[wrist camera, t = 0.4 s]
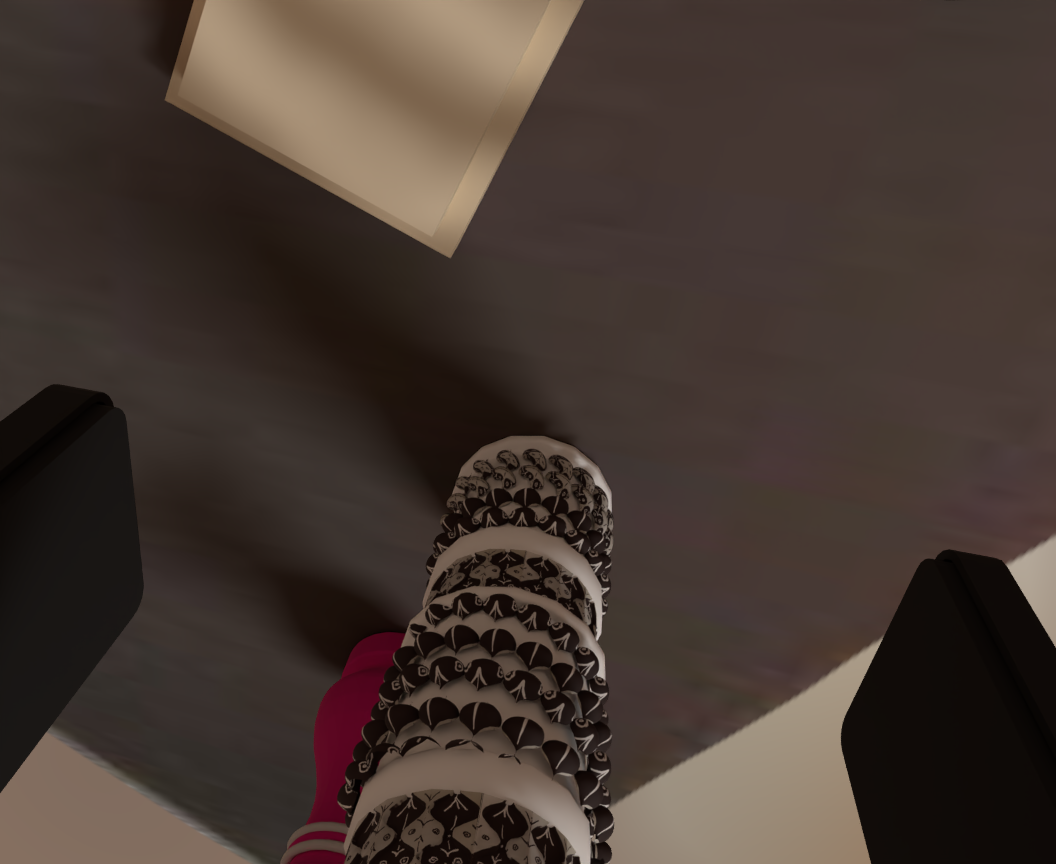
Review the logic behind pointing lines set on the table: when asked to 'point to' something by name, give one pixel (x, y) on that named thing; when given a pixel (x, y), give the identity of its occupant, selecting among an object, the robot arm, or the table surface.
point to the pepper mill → (341, 748)
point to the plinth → (375, 94)
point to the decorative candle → (497, 678)
